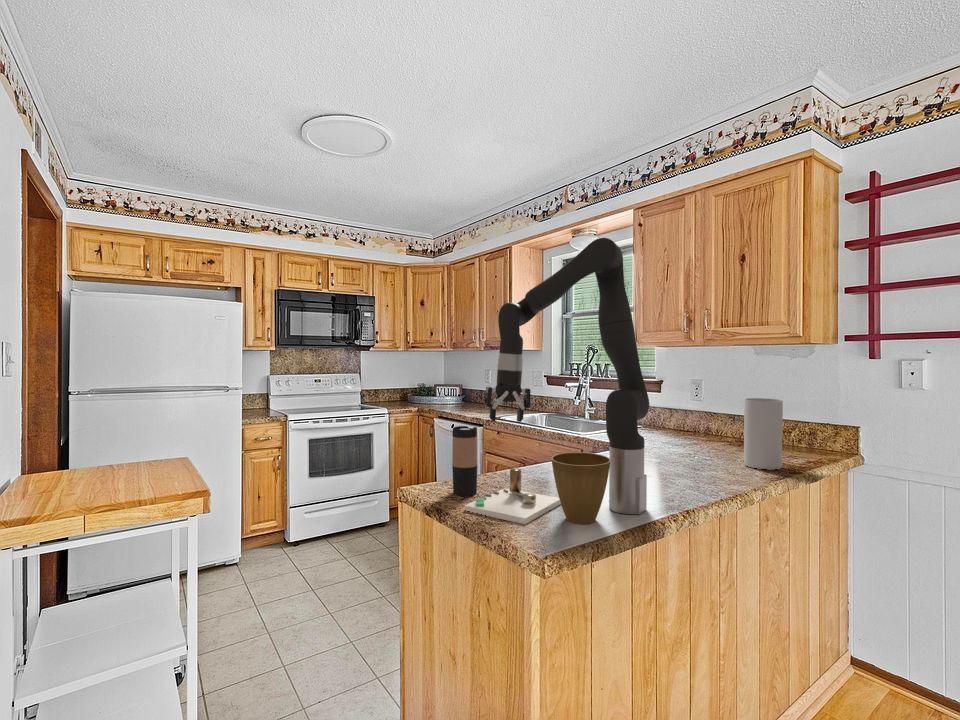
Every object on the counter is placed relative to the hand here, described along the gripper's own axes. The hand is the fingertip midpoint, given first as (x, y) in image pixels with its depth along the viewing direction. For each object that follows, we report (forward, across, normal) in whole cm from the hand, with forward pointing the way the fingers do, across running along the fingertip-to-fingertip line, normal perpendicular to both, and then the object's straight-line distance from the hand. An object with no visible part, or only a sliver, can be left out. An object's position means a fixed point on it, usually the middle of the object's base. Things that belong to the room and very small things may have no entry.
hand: (506, 421), depth 158 cm
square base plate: (+21, -2, -16) cm, 27 cm away
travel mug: (+23, -11, +2) cm, 25 cm away
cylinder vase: (+16, +104, +1) cm, 105 cm away
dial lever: (+19, +1, -14) cm, 24 cm away
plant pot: (+20, +10, -31) cm, 38 cm away
